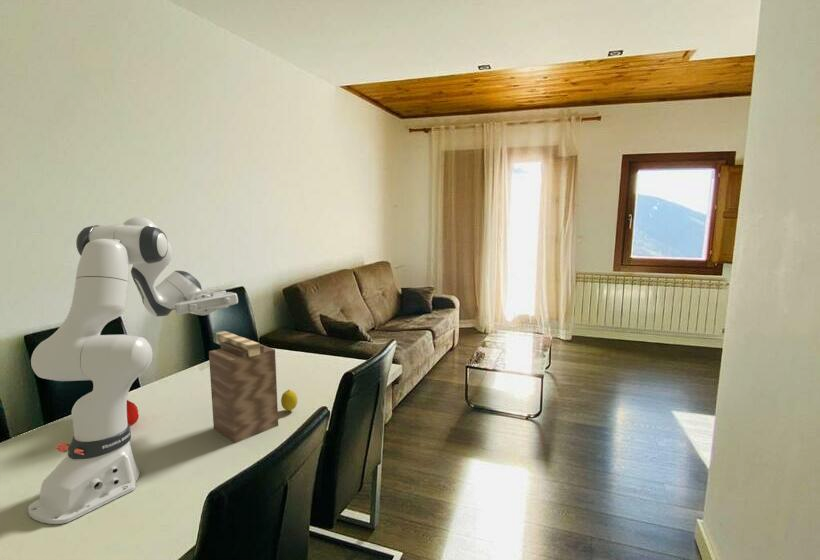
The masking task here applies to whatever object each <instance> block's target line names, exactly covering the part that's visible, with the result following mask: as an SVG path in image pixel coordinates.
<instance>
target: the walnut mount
mask: <svg viewBox="0 0 820 560" xmlns="http://www.w3.org/2000/svg"><path fill="white" fill-rule="evenodd" d="M219 346H220V348H218V349H213V350H209V351H208V358H209V359H208V360H209V374H210V375H209V376H210V391H211V404H212V405H211V407H212V409H211V410H212V421H213V422H212V423H213V429H214V430H215V431H216V432H218V433H220V434H221V435H222V436H224V437H225V438H227V439H228V440H230V441H231V442H232V443H233V444H236V443H238V442H241V441H244V440H245V439H249V438H251V437H253V436H257V435H259V434H261V433H263V432H266V431H268V430H270V429H273V428H276V427H277V426H279V415H278V412H279V411H278V388H277V369H276V368H277V367H276V366H277V362H276V349H275V348H272V347H270V346H269V347H268V345H264V344H260V354H259V355H255V356H251V357H249V356H247V350H245V349H242V348H240V347H237V346H234V345H232V344H229V343H227V342H222V343H220V345H219Z"/></svg>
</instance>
